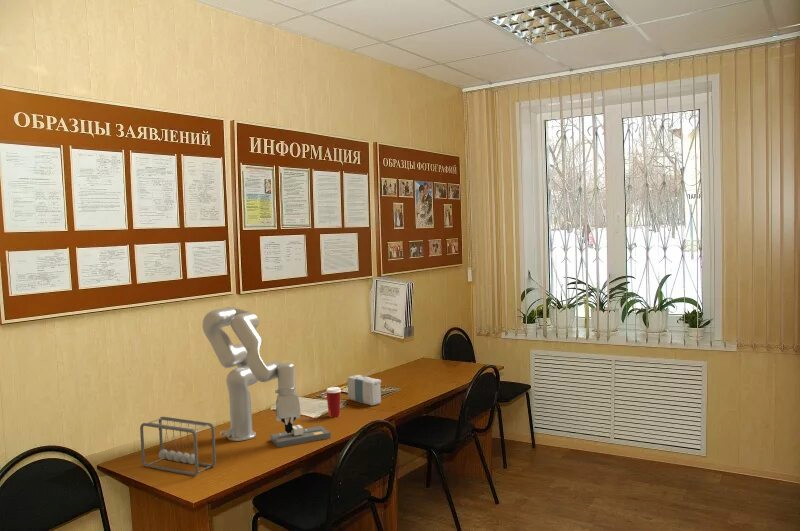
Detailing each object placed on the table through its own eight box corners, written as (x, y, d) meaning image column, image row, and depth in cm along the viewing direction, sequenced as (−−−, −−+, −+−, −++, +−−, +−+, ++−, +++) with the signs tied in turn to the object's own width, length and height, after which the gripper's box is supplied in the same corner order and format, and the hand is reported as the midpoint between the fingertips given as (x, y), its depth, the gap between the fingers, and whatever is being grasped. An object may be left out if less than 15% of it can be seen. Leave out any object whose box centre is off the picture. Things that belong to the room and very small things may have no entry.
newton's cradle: (141, 466, 246) (139, 422, 245) (162, 457, 255) (160, 415, 255) (197, 477, 233) (194, 430, 232) (216, 467, 242) (214, 423, 241)
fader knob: (294, 435, 270) (294, 428, 269) (291, 432, 274) (290, 425, 274) (303, 434, 271) (303, 427, 271) (299, 431, 276) (299, 424, 276)
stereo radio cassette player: (347, 400, 339) (346, 364, 338) (359, 397, 344) (358, 362, 343) (371, 407, 323) (369, 369, 322) (383, 404, 328) (381, 367, 328)
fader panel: (277, 447, 263) (277, 441, 263) (270, 440, 273) (270, 434, 273) (330, 438, 274) (330, 432, 273) (321, 431, 284) (321, 425, 284)
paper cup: (345, 415, 310) (344, 387, 309) (335, 419, 303) (334, 391, 303) (332, 413, 314) (331, 386, 313) (323, 417, 307) (322, 389, 307)
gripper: (272, 395, 263) (274, 437, 264) (305, 390, 270) (307, 431, 271) (268, 392, 270) (270, 433, 271) (300, 387, 277) (302, 427, 277)
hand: (288, 432), depth 271 cm, fingers closed
